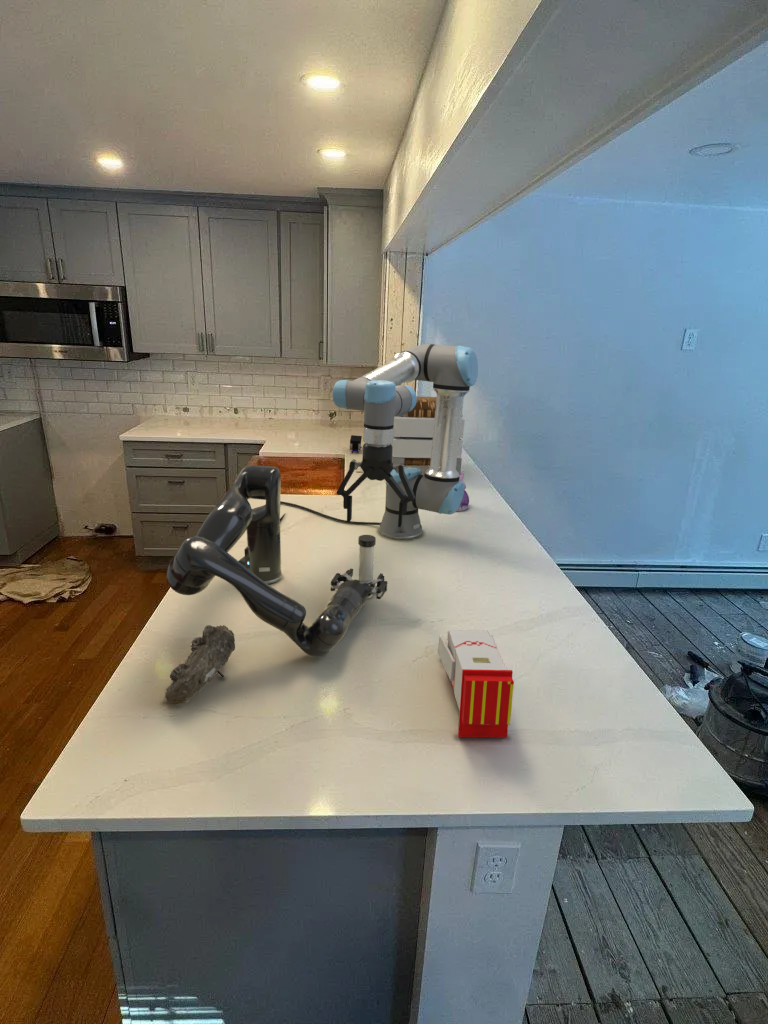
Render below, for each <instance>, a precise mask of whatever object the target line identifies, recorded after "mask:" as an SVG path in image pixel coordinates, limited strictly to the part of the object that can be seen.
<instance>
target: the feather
mask: <svg viewBox="0 0 768 1024" xmlns="http://www.w3.org/2000/svg"><path fill="white" fill-rule="evenodd" d="M285 515H286V513H283V515H281V516H280V523H281V522H282V520H283V519H284V517H285Z"/></svg>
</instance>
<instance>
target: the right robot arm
mask: <svg viewBox="0 0 768 1024" xmlns="http://www.w3.org/2000/svg"><path fill="white" fill-rule="evenodd" d="M478 375H479V363H478V356H477V354H476V352H475V350H474V349H473V348H472V347H470V346H463V345H451V344H450V345H449V344H436V343H435V344H434V343H423V344H418V345H415V346H412V347H409V348H406V349H404V350H402V351H400V352H398V353H396V354H395V355H394V357H392V360H390V361H388V362H386V363H384V364H382V365H380V366H379V367H377V368H375V369H373V370H371V371H369V372H367V373H365V374H363V375H362V376H360V377H357V378H356V379H354V380H349V379H340V380H338V381H336V382H335V384H334V386H333V389H332V402H333V403H334V405H335V406H336V407H337V408H341V409H346V410H353V411H361V412H364V413H363V431H362V433H363V434H362V442H363V445H362V459H361V461H358V460H356V459H354V458H353V459H352V460H350V462H349V465H348V466H349V467H348V471H347V473H346V474H345V475H344V478H343V479H342V481H341V483H340V484H339V486H338V488H337V491H336V495H338V496H341V497H342V498H343V500H342V501H343V505H342V506H343V510H346V519H341V518H337V517H333V516H330V515H327V514H325V513H322V512H319V511H317V510H314V509H312V508H309V507H305V506H302V505H299V504H296V503H292V502H287V501H281V500H280V505H286V506H290V507H295V508H298V509H302V510H305V511H307V512H311V513H313V514H315V515H318V516H321V517H324V518H326V519H329V520H333V521H336V522H339V523H345V524H351V525H367V526H379V527H378V533H379V534H380V535H381V536H382V537H385V538H387V539H389V540H395V541H410V540H415V539H418V538H420V537H421V536H422V535H423V525H422V524H421V518H420V515H419V510H421V511H422V510H423V511H427V512H432V513H437V514H439V515H442V514H444V515H453V514H454V513H456V512H457V511H456V510H457V509H458V507H459V505H460V503H461V501H462V498H463V494H464V489H465V487H464V483H463V482H462V481H459V478H460V474H459V473H458V472H457V471H456V463H457V454H458V445H459V436H460V427H461V418H462V419H463V408H464V399H465V396H466V395H467V394H468V393H469V392H470V388H471V387H473V386H475V385H476V383H477V381H478V380H477V379H478ZM414 381H420V382H421V381H422V382H429V383H432V390H433V391H434V392H435V394H436V397H437V399H436V410H435V420H434V431H433V441H432V451H431V462H430V466H429V467H428V468H427V469H426V470H424V474H422V470H421V468H419V467H415V466H411V467H410V466H406V467H405V465H404V464H403V463H401V464H400V465H393V463H392V450H393V446H392V445H391V444H392V443H393V430H394V417H395V416H398V415H404V414H406V413H408V412H410V411H411V410H412V409H413V408H414V407H415V405H416V402H417V393H416V391H415V390H414V388H413V387H411V386H410V385H407V383H412V382H414ZM358 468H360V469H361V471H362V472H363V473H362V474H361V475H360V476H359V477H357V479H356V480H355V481H354V482H353V483H352V484H351V486H349V487H348V488H347V489H346V490H345V488H346V486H347V485H348V483H349V481H350V479H351V477H352V475H353V474H354V473H355V471H356V470H358ZM366 479H367V480H368V479H369V481H380V482H383V481H384V480H385V504H384V505H385V507H384V508H385V509H384V513H383V515H382V519H381V522H375V521H374V522H373V521H371V522H370V521H353V520H352V519H353V518H352V516H353V495H352V493H353V492H354V491H355V490H356V489H357V488H358V487H359V486H360V485H361V484H362V483H363V482H364V481H365V480H366ZM465 490H466V489H465Z"/></svg>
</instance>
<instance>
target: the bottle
mask: <svg viewBox="0 0 768 1024" xmlns="http://www.w3.org/2000/svg"><path fill="white" fill-rule="evenodd" d="M358 545H359V544H358ZM358 547H359V548H358V575H357V576H358V577H357V580H359V581H367V580H370V579H372V580H374V565H375V563H374V562H375V546H372V547H362V546H360V545H359V546H358ZM369 586H370V584H369ZM372 597H373V595H371V596H369V597H367V599H370V598H372Z"/></svg>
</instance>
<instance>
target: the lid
mask: <svg viewBox="0 0 768 1024" xmlns="http://www.w3.org/2000/svg"><path fill="white" fill-rule="evenodd" d="M357 542H358V543H357V544H358V545H360V546H362V547H372V546H374V547H375V546H376V542H377V537H376V536H375V535H371V534H361V535H359V536H358V539H357Z"/></svg>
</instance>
